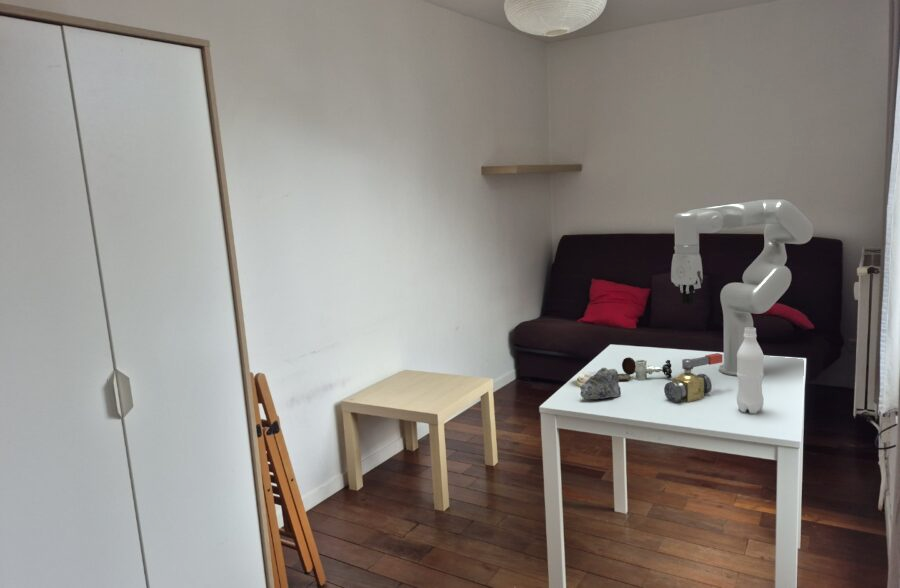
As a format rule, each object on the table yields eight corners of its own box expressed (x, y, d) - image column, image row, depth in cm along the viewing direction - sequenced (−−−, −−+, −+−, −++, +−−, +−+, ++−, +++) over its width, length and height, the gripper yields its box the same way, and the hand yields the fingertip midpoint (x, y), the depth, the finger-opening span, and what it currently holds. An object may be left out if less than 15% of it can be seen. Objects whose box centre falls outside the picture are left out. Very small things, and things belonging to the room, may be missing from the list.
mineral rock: (580, 402, 213) (579, 372, 211) (580, 392, 223) (579, 363, 221) (621, 402, 210) (620, 372, 208) (620, 392, 220) (619, 363, 218)
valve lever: (687, 370, 206) (687, 362, 206) (680, 367, 209) (680, 360, 209) (723, 362, 211) (723, 354, 211) (716, 360, 214) (716, 352, 214)
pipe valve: (694, 390, 216) (693, 362, 215) (713, 396, 209) (713, 367, 208) (662, 398, 210) (661, 370, 209) (681, 405, 203) (681, 376, 202)
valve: (636, 382, 229) (672, 381, 228) (636, 363, 228) (671, 362, 227) (633, 376, 236) (668, 375, 234) (633, 358, 235) (667, 357, 233)
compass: (608, 379, 234) (608, 359, 233) (624, 374, 238) (624, 355, 237) (625, 384, 228) (625, 364, 226) (641, 379, 232) (641, 359, 230)
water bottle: (736, 405, 199) (736, 325, 195) (762, 407, 197) (763, 325, 193) (737, 414, 193) (736, 331, 189) (764, 415, 190) (764, 331, 186)
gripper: (662, 250, 222) (663, 303, 225) (695, 252, 209) (696, 309, 212) (678, 247, 226) (679, 300, 229) (713, 250, 212) (713, 305, 215)
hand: (687, 304), depth 220 cm, fingers closed
